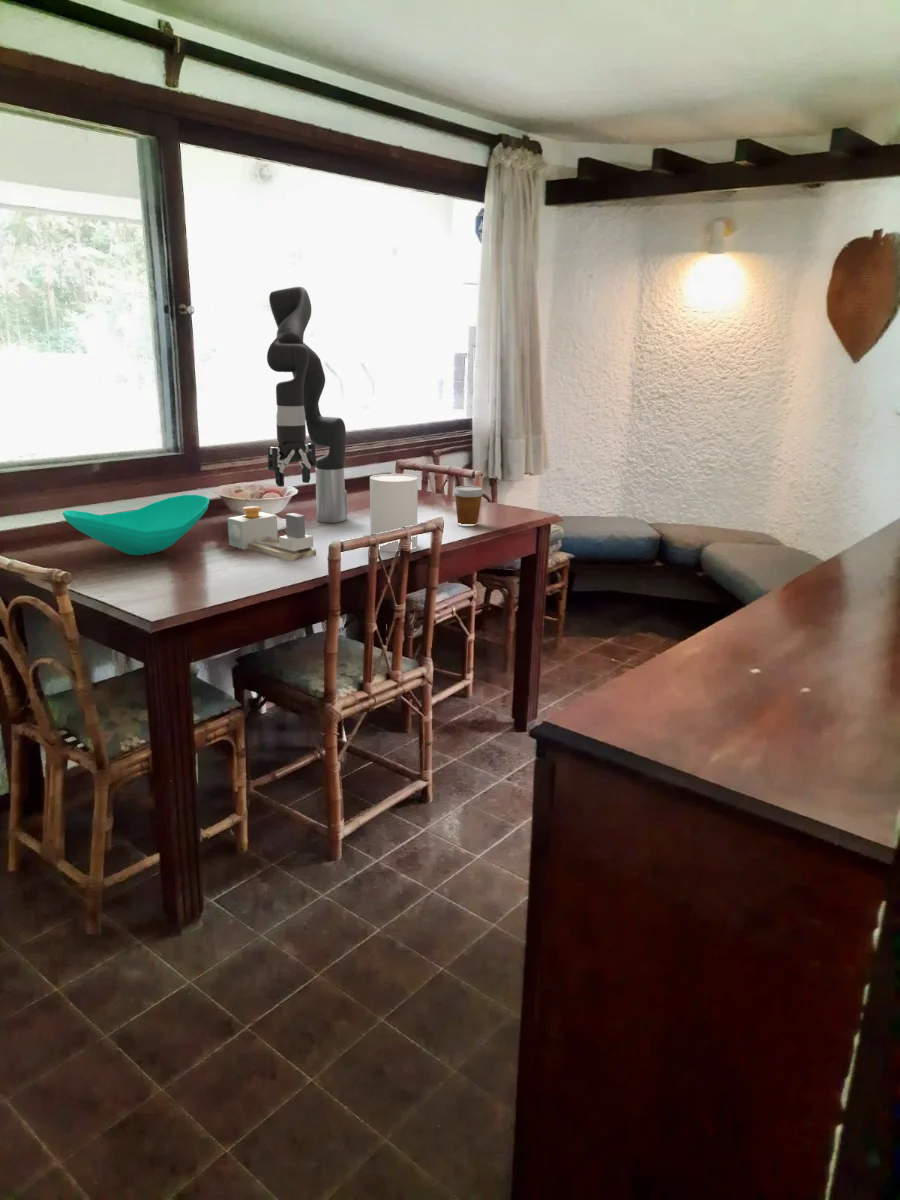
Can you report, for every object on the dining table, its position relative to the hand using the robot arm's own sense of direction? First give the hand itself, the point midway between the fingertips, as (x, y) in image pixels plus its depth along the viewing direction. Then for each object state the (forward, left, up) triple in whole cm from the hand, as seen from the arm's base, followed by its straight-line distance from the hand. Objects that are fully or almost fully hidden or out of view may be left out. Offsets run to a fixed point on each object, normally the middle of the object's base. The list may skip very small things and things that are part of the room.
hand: (293, 484), depth 223 cm
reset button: (0, -19, -12) cm, 23 cm away
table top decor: (+27, -33, -20) cm, 47 cm away
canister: (-27, +11, -20) cm, 36 cm away
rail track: (0, -6, -20) cm, 21 cm away
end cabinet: (0, -19, -20) cm, 28 cm away
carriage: (0, 0, -17) cm, 17 cm away
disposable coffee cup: (-64, +8, -20) cm, 68 cm away
